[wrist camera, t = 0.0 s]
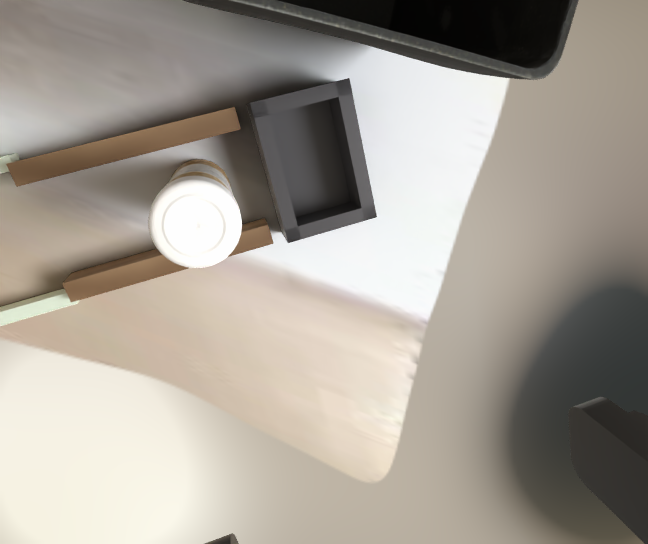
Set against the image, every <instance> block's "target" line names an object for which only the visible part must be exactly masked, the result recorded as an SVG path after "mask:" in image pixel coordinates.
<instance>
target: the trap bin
mask: <svg viewBox="0 0 648 544" xmlns="http://www.w3.org/2000/svg"><path fill="white" fill-rule="evenodd" d="M246 105H247V109H248V112H249V116H250V119H251V123H252V127H253V130H254V134H255V138H256V141H257V145H258V148H259V152H260V156H261V159H262V163H263V167H264V170H265V174H266V177H267V181H268V185H269V188H270V192H271V196H272V199H273V203H274V206H275V210H276V214H277V217H278V221H279V225H280V228H281V232H282V234H283V235H284V237H285V239H286V240H287V242H288V243H290V242H293V241H297V240H300V239H304V238H307V237H310V236H314V235H317V234H321V233H324V232H327V231H331V230H334V229H338V228H341V227H345V226H348V225H351V224H355V223H358V222H362V221H365V220H368V219H372V218H375V217H377V216H376V211H375V206H374V201H373V196H372V191H371V185H370V180H369V175H368V170H367V165H366V160H365V155H364V150H363V145H362V140H361V135H360V130H359V125H358V120H357V115H356V110H355V105H354V100H353V95H352V90H351V85H350V80H349V78H348V79H344V80H340V81H336V82H332V83H328V84H324V85H320V86H316V87H312V88H308V89H304V90H300V91H296V92H292V93H288V94H284V95H280V96H276V97H272V98H268V99H264V100H260V101H256V102H252V103H248V104H246Z"/></svg>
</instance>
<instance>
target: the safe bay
mask: <svg viewBox="0 0 648 544" xmlns="http://www.w3.org/2000/svg"><path fill="white" fill-rule="evenodd" d="M19 160H20V158H19V156H18V154H17V153H16V154H11V155H6V156H2V157H0V174H1V173H5V172H9V169H8V167H7V165H6V164H7V163H11V162H15V161H19ZM79 301H80V300H78V301H74V302H71V301H70V299H69V297H68V295H67V293H66V291H65V289H61V290H57V291H54V292H50V293H47V294H43V295H40V296H36V297H33V298H29V299H26V300H22V301H19V302H15V303H12V304H8V305H5V306H1V307H0V326H3V325H6V324H9V323H13V322H16V321H20V320H23V319H27V318H30V317H33V316H37V315H40V314H44V313H47V312H51V311H54V310H57V309H61V308H64V307H68V306H71V305H74V304H78V302H79Z"/></svg>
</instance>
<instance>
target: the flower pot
mask: <svg viewBox="0 0 648 544" xmlns="http://www.w3.org/2000/svg"><path fill="white" fill-rule="evenodd" d="M184 1H187V2H190V3H194V4H198V5H202V6H207V7H211V8H215V9H219V10H223V11H228V12H232V13H237V14H242V15H246V16H251V17H255V18H260V19H265V20H269V21H273V22H278V23H282V24H287V25H291V26H295V27H299V28H303V29H307V30H311V31H315V32H319V33H323V34H327V35H331V36H335V37H339V38H343V39H347V40H350V41H354V42H358V43H361V44H365V45H368V46H372V47H375V48H379V49H382V50H386V51H389V52H392V53H396V54H399V55H403V56H406V57H410V58H413V59H417V60H420V61H424V62H428V63H431V64H435V65H439V66H442V67H446V68H451V69H455V70H461V71H466V72H471V73H476V74H483V75H490V76H497V77H505V78H515V79H529V80H534V79H535V80H537V79H542V78H545V77H546V76H548V75H549V74H550V73H552V72H553V70H554V69H555V68H556V67H557V65H558V63H559V62H560V59H561V57H562V54H563V51H564V47H565V44H566V40H567V37H568V34H569V30H570V27H571V24H572V20H573V17H574V13H575V10H576V7H577V4H578V0H184Z"/></svg>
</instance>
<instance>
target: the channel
mask: <svg viewBox="0 0 648 544" xmlns="http://www.w3.org/2000/svg"><path fill="white" fill-rule="evenodd" d="M240 129H241V128H240V124H239V121H238V117H237V113H236V110H235V107H232V108H228V109H224V110H220V111H216V112H212V113H208V114H204V115H200V116H196V117H192V118H188V119H184V120H180V121H176V122H172V123H168V124H164V125H160V126H156V127H152V128H148V129H144V130H140V131H136V132H132V133H128V134H124V135H120V136H116V137H112V138H108V139H104V140H100V141H96V142H92V143H88V144H84V145H80V146H76V147H71V148H67V149H63V150H59V151H55V152H51V153H47V154H43V155H39V156H35V157H31V158H27V159H23V160H19V161H15V162H11V163H7V164H6V165H7V167H8V169H9V171H10V173H11V176H12V178H13V180H14V182H15V184H16V186H21V185H25V184H29V183H33V182H37V181H41V180H45V179H48V178H52V177H56V176H60V175H64V174H68V173H72V172H76V171H80V170H84V169H88V168H91V167H95V166H99V165H103V164H107V163H111V162H115V161H119V160H123V159H127V158H131V157H134V156H138V155H142V154H146V153H150V152H154V151H158V150H162V149H166V148H170V147H174V146H177V145H181V144H185V143H189V142H193V141H197V140H201V139H205V138H209V137H213V136H216V135H220V134H224V133H228V132H232V131H236V130H240ZM270 244H273V240H272V236H271V233H270V229H269V226H268V223H267V222H266V220H265V218H263V219H260V220H256V221H252V222H249V223H245V224H242V230H241V235H240V239H239V241H238V243H237V245H236V247H235V249H234V250H233V251H232V253H231V254H230V255H229V256H232V255H236V254H239V253H242V252H246V251H249V250H253V249H256V248H260V247H263V246H266V245H270ZM229 256H228V257H229ZM184 269H188V267H184V266H181V265H178V264H176V263H174V262H172V261H170V260H169V259H167V258H166V257H165V256H164V255H162V254H161V253H160V252H159V250H158V249H154V250H150V251H147V252H143V253H140V254H136V255H133V256H129V257H126V258H122V259H118V260H115V261H111V262H108V263H104V264H101V265H97V266H94V267H90V268H87V269H83V270H80V271H76V272H73V273H71V274H70V275H69V276H68V278H67V279H66V280H65V281H64V282H63V283H62V284H63V287H64V289H65V291H66V293H67V295H68V297H69V299H70V301H71V302H74V301H78V300H81V299H85V298H88V297H92V296H95V295H98V294H102V293H105V292H109V291H112V290H116V289H119V288H122V287H126V286H129V285H133V284H136V283H140V282H143V281H146V280H150V279H153V278H157V277H160V276H164V275H167V274H170V273H174V272H177V271H181V270H184Z"/></svg>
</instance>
